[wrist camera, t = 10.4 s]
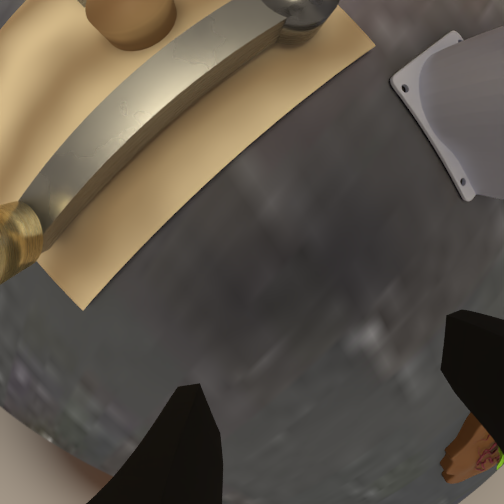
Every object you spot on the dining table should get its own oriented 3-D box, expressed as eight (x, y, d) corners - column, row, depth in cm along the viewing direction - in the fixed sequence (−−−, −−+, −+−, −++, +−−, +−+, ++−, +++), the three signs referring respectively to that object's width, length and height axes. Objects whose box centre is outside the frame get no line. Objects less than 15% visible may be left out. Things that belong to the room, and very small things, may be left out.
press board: (368, 50, 15) (375, 45, 14) (88, 303, 18) (82, 310, 17) (177, -100, 11) (175, -107, 10) (-51, 120, 13) (-60, 119, 12)
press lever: (288, -22, 12) (322, -103, 5) (334, 24, 13) (396, -43, 6) (16, 217, 14) (-71, 250, 7) (54, 265, 15) (-23, 321, 8)
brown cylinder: (192, 16, 13) (186, -10, 10) (133, 65, 14) (115, 46, 11) (147, -20, 12) (136, -47, 9) (92, 26, 13) (71, 5, 10)
